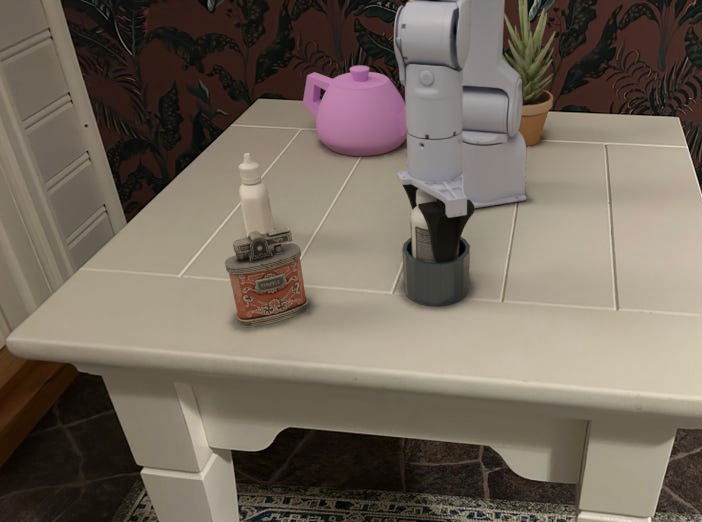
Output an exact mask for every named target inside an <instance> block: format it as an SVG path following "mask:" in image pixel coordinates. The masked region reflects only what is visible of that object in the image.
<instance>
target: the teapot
mask: <svg viewBox="0 0 702 522" xmlns="http://www.w3.org/2000/svg"><path fill="white" fill-rule="evenodd" d="M322 90H324V94H323V96H322V98H321V91H322ZM302 105H303V107H304V108H305V109H306V110H307V111H308V112H309V113H310V114H311V116H312V117H313V118H314V119H315V120H316V123H315V127H316V128H315V129H316V130H315V131H316V135H317V137H318V138H319V140H320V141H321V142H322V143H323V144H324V145H325V146H326V147H328V148H329V150H331V151H333V152H335V153H337V154H340V155H345V156H352V157H371V156H377V155H383V154H387V153H390V152H391V151H392V152H393V151H395V150H397V149H398V148H400V146H402V144H403V143H404V142H405V141H406V140H407V130H406V105H405V99H404V98H403V97H402V95H401V94H400V92H399V90H398V89H397V87H396V86H395V84H394V83H393V82H392V81H391V79H390V78H389V77H388V76H387V75H385V74H382V73H378V72H374V71H370V67H369V66H368V65H361V64H360V65H353V66H350V67H349V72H346V73H342V74H338V75H337V76H335V77H334V78H331V77H328V76H326V75H324V74H321V73H318V72H315V71H314V72H312V73H310V74H309V73H308V75H306V80H305V87H304V93H303V99H302Z"/></svg>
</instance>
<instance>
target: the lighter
mask: <svg viewBox="0 0 702 522" xmlns="http://www.w3.org/2000/svg"><path fill="white" fill-rule="evenodd" d="M292 241H293V236H292V231H291V229H290V228H288V227H282V228H277V229H274V230H272V231H268V232H267V233H265V234H260V233H259V232H257V231H254V232H251V233H249V235H248V237H247V236H246V237H244V238H239V239H235V240H233V241H232V247H233V251H234V253H235V255H232V256H230V257H228V258H226V259H225V261H224V266H225V270H226V272H227V273H228V275H229V281H230V286H231V291H232V294H233V298H234V303H235V307H236V311H237V312H236V320H237V324H238V325H239V326H241V327H243V328H252V327H258V326H263V325H264V326H265V325H268V324H272V323H277V322H280V321H283V320H286V319H289V318H292V317H296V316H298V315H301V314H302V313H305V312H307V311H308V309H309V306H310V305H309V300H308V297H306V290H305V284H304V277H303V270H302V269H303V268H302V261H301V257H302V251H301V250H302V249H301V247H300V246H299V245H298V244H297V243H291V242H292Z"/></svg>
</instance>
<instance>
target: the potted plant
mask: <svg viewBox="0 0 702 522" xmlns="http://www.w3.org/2000/svg"><path fill="white" fill-rule="evenodd" d="M547 15H548V12H545V7H543V8H542V11H541V14H540V17H539V20H538V22H537V25H536V27H535V30H534V33H532V31H531V19H530V16H529V13H528V0H518V16H519V23H520V32H521V35H520V33H519V30H518V28H517V24H514V28H513V26H512V24H511V22H510V19H509V18H508V16H507V14H506V13H505V12H504V21H505V24H506V26H507V29H508V32H509V34H510V38H511V40H512V41H511V40H510V39H509V38H508V39H507V41H508V45H509V49H510V51H511V54H512V56H513V58H512V57H511V56H510V55H508V53H507V52H506V51H505V52H504V54H503V53H502V59H503V60H504V61H505V62H506V63H507V64H508V65H509V66H511V67H512V68H513V69H514V70H515V71H516V72H518V74H519V75H520V76H521V78H520V79H521V80H522V115H521V122H520V127H519V130H518V131H519V132H520V133H521V134H522V136H523V138H524V141H525V144H526V147H529V146H533V145H534V146H535V145H536V144H538V143H539V142H540V140H541V136H542V133H543V129H544V126H545V123H546V120H547V117H548V114H549V112H550V110H551V109H552V108H553V102H554V95H553V94H552V93H551V92H550V91H549V90H548V91H547V90H545V89H544V88H545V87H546V86H547V85H549V83H551V81H553V78H552V76H554V73H551V74H549V75H548V76H547V77H545V78H544V79H542V77H543V76H544V74H545V73H546V71H547V70H548V68H549V67H550V65H551V64H552V62H553V60H554V58H551V56H552V54H553V53H554V49H555V46H552V48H551V49H550V46H551V44H552V42H553V40H554V37H555V35H556V31H555V30H554V31H553V33H552V34H551V36H550V37H549V39H548V41H547V43H546V44H545V45H544V47H542V42H543V36H544V34H545V30H546V25H547V19H548V18H547ZM512 42H513V43H512ZM541 47H542V48H541ZM549 49H550V51H549ZM548 51H549V53H548V55H547V56H546V54H547V52H548ZM545 56H546V58H545ZM544 58H545V59H544ZM543 60H544V61H543ZM541 79H542V80H541Z"/></svg>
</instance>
